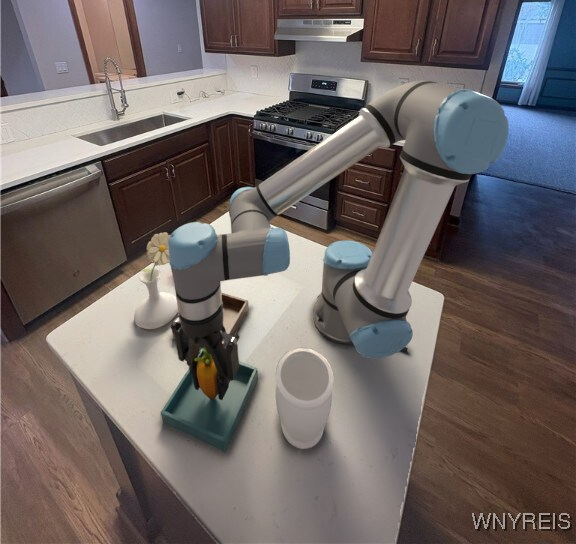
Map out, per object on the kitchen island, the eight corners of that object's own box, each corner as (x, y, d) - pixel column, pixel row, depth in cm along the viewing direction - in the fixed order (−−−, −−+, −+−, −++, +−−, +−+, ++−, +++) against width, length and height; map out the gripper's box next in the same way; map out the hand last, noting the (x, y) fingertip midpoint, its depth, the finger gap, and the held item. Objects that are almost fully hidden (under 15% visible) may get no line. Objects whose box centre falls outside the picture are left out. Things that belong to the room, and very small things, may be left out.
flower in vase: (142, 341, 78) (123, 262, 68) (130, 312, 86) (111, 237, 76) (192, 314, 85) (181, 238, 75) (176, 289, 93) (164, 218, 84)
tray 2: (258, 377, 70) (257, 367, 68) (226, 452, 57) (225, 442, 56) (203, 357, 74) (201, 347, 73) (162, 423, 62) (160, 412, 60)
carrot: (219, 413, 63) (213, 364, 57) (196, 408, 64) (188, 358, 58) (228, 388, 67) (223, 340, 62) (207, 383, 68) (200, 335, 62)
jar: (265, 422, 62) (263, 373, 56) (300, 384, 69) (302, 336, 63) (304, 472, 55) (307, 422, 49) (339, 424, 62) (346, 375, 56)
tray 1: (248, 309, 87) (248, 300, 85) (222, 356, 74) (221, 346, 73) (204, 296, 91) (203, 287, 90) (173, 337, 79) (171, 328, 77)
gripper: (255, 302, 56) (259, 385, 65) (172, 277, 61) (186, 357, 70) (235, 338, 49) (242, 425, 58) (144, 306, 55) (163, 390, 64)
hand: (211, 387), depth 64 cm, fingers closed on carrot, 5 cm apart
